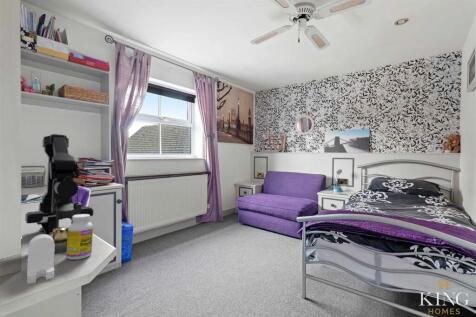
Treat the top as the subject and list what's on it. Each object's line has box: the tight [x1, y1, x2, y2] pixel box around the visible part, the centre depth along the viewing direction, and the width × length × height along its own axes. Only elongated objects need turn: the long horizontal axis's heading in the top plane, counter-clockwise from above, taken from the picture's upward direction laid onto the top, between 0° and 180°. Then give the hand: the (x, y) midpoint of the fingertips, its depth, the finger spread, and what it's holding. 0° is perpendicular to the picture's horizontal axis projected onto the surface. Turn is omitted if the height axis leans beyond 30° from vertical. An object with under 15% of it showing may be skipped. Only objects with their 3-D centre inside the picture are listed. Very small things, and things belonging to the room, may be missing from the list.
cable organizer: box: [26, 233, 55, 285], centre depth 63 cm, size 5×10×10 cm, turn 42°
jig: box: [50, 235, 67, 254], centre depth 84 cm, size 14×9×2 cm, turn 46°
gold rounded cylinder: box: [52, 226, 69, 244], centre depth 84 cm, size 4×4×6 cm
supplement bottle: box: [66, 214, 94, 261], centre depth 75 cm, size 7×7×13 cm
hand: (60, 238), depth 84 cm, fingers open, 6 cm apart
